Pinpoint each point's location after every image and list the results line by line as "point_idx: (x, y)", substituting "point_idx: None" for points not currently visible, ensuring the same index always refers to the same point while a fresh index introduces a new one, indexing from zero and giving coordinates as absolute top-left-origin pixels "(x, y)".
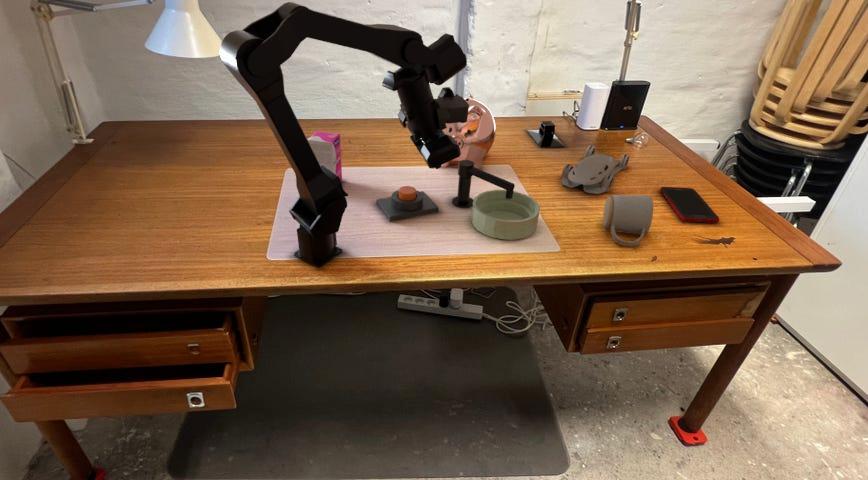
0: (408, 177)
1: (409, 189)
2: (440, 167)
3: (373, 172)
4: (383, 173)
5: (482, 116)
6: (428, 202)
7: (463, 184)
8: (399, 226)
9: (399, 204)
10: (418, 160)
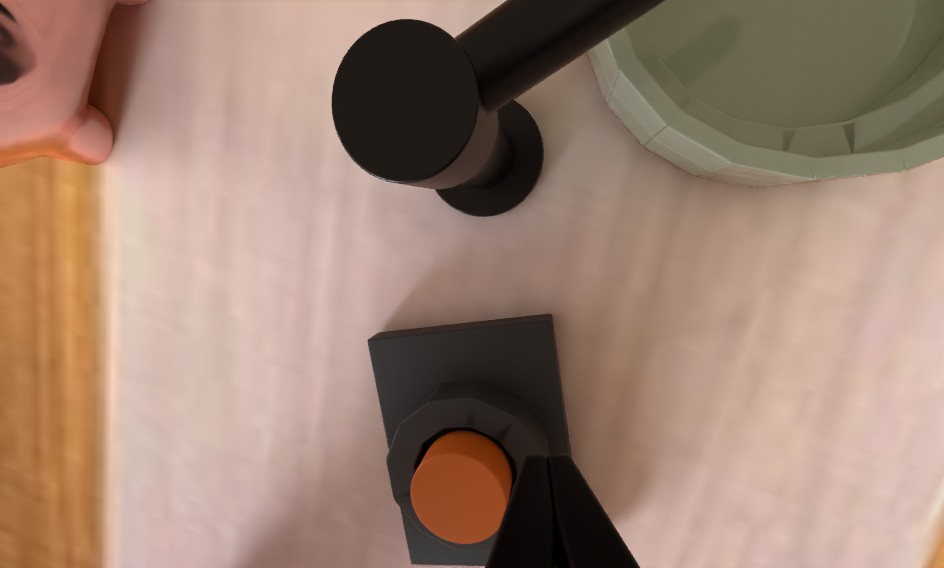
0: (201, 339)
1: (455, 488)
2: (566, 458)
3: (150, 465)
4: (160, 430)
5: None
6: (487, 352)
7: (490, 159)
8: (634, 523)
9: None
10: (49, 243)
